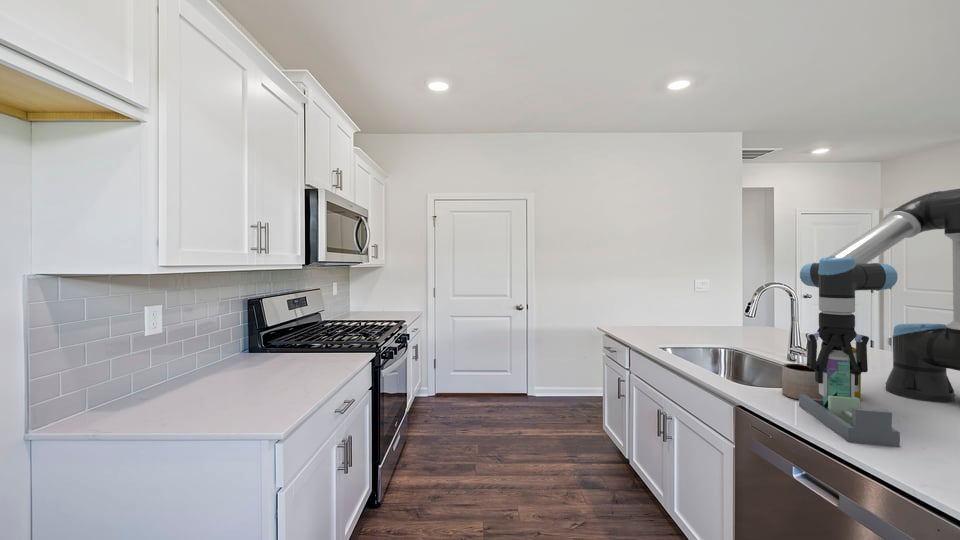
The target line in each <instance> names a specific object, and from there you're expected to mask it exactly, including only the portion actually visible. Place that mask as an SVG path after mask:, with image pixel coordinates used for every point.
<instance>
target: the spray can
mask: <svg viewBox="0 0 960 540" xmlns="http://www.w3.org/2000/svg"><path fill="white" fill-rule="evenodd" d="M824 372H826V373H827V396H823V407H824V408H826V409H827V410H828V396H841V397H850V358H849V355H848V354H846V353H845V352H843V350H842V349H841V346H835V347H833V349H832V350H831V352H830V354H829V357H828V361H827V363H826V366H825V369H824Z"/></svg>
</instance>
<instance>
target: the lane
mask: <svg viewBox="0 0 960 540" xmlns="http://www.w3.org/2000/svg"><path fill="white" fill-rule="evenodd" d="M798 406H799V407H800V408H801V409H802V410H804V411H805V412H807V413H808V414H810V415H811V416H813V418H816V420H818V421H819V422H820V423H821V424H823V425H825V426H826V427H827V428H829V430H831V431H832V432H834V433H835V434H837V435H838V436H840V437H841V438H842V439H843V440H844V441H846V442H848V443H859V444H867V445H876V446H877V445H879V446H890V447H901V443H900V442H901V438H900V437H901V432H900V431H898V430H897V429H896V428H893V412H891V411H889V410H887V409H885V410H884V409H873V408H861V407H860V408H852V424H848V423H847V422H845V421H844V420H842V419H841V418H839V417H838V416H836V415H835V414H833V413H832V412H830V411H829V410H827V409H826V408H824V407H823V399H812V398H809V397H808V396H806V395H801V394H799V400H798Z"/></svg>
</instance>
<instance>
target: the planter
mask: <svg viewBox="0 0 960 540" xmlns="http://www.w3.org/2000/svg"><path fill="white" fill-rule="evenodd" d="M781 376H782V377H781V378H782V385H781V386H782V387H781V388H782V390H781V392H782V394H784V396H786V397H787V398H790V399H793V400H796V401H799V394H801V395H806V396H808V397H809V398H812V399H823V395H821V394H819V383H817V382H816V381H815V370H812V369H811V368H809V367H807V364H804V363H784V364H782V375H781Z"/></svg>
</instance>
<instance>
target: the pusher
mask: <svg viewBox="0 0 960 540" xmlns="http://www.w3.org/2000/svg"><path fill="white" fill-rule="evenodd" d="M860 402H861V400H860V399H859V398H856V397H841V396H828V410H829V411H830V412H832V413H833V414H835V415H836V416H838V417H839V418H841V419H842V420H844V421H845V422H847V423H848V424H850V425H852V408H861V404H860Z"/></svg>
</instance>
